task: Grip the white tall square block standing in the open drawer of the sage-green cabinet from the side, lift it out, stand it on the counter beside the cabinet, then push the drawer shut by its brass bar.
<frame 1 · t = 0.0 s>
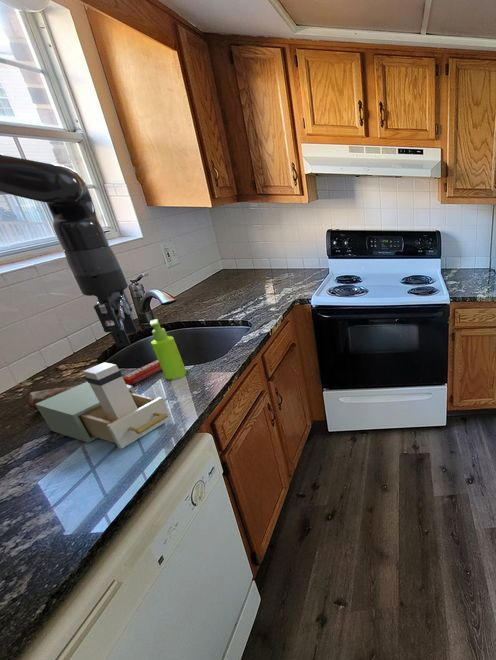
hand: (128, 339, 83), 27 cm above the counter, tool pointing down, fingers open, 8 cm apart
white tall square block: (128, 424, 95), point 2 cm above the counter, touching drawer
candy bar: (149, 374, 123), on the counter
drawer: (129, 418, 94), point 4 cm above the counter, slide at 11.0 cm, touching white tall square block
cabinet: (99, 420, 100), on the counter
soap dispenser: (176, 376, 121), on the counter
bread: (80, 400, 110), on the counter
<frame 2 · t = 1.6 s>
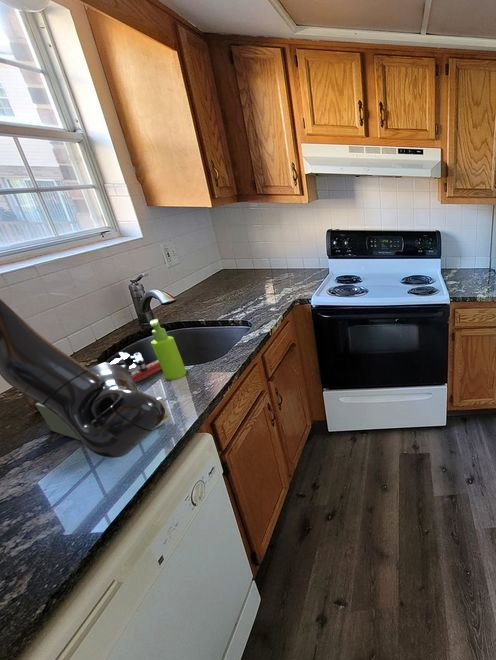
hand: (97, 363, 79), 24 cm above the counter, tool horizontal, fingers open, 8 cm apart
nothing on the counter moved.
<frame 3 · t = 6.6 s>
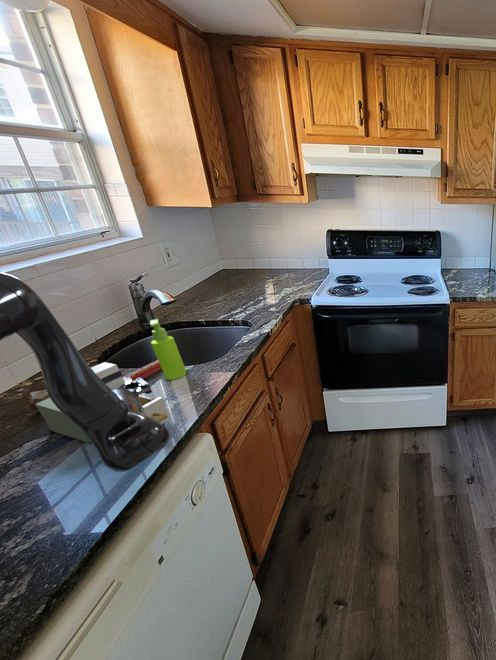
hand: (108, 385, 92), 13 cm above the counter, tool horizontal, fingers closed on white tall square block, 6 cm apart
white tall square block: (128, 424, 95), point 2 cm above the counter, touching drawer, gripper
everything else where it was.
when the fingers open (11 cm above the counter, at t = 16.8 s): white tall square block stays where it is, on the counter.
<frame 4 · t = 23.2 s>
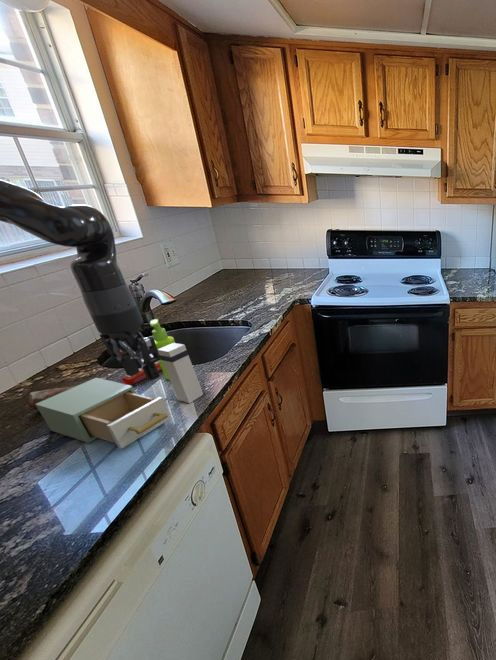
hand: (143, 376, 83), 20 cm above the counter, tool pointing down, fingers open, 6 cm apart
white tall square block: (191, 397, 109), on the counter
drawer: (129, 418, 94), point 4 cm above the counter, slide at 11.0 cm
everything else where it was.
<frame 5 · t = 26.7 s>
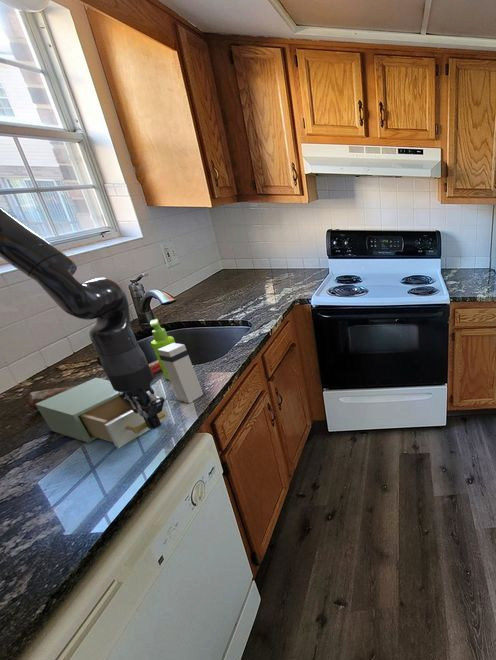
hand: (155, 426, 91), 4 cm above the counter, tool pointing down, fingers closed
drawer: (126, 417, 94), point 4 cm above the counter, slide at 10.0 cm, touching gripper
everything else where it was.
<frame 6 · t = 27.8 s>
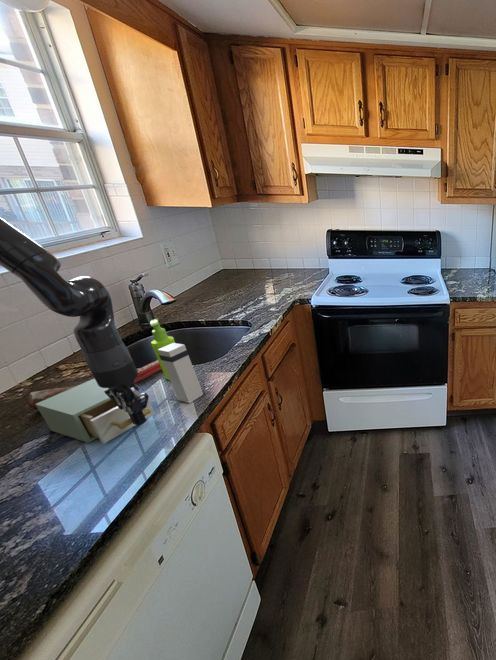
hand: (140, 422, 92), 4 cm above the counter, tool pointing down, fingers closed
drawer: (113, 413, 96), point 4 cm above the counter, slide at 4.6 cm, touching gripper
everything else where it was.
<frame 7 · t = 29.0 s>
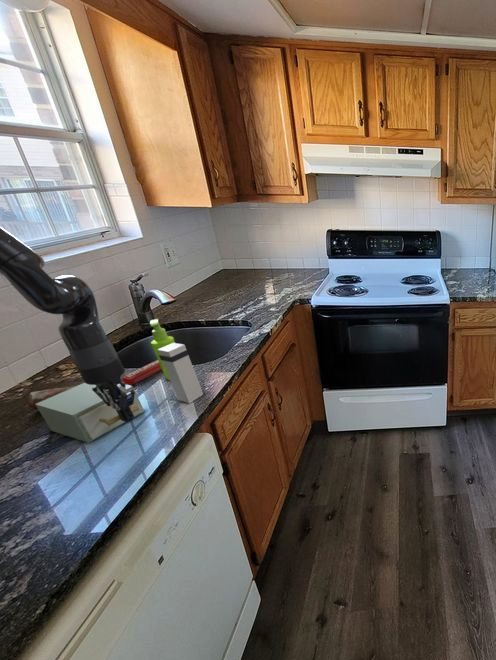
hand: (128, 419, 94), 4 cm above the counter, tool pointing down, fingers closed
drawer: (101, 410, 97), point 4 cm above the counter, slide at 0.0 cm, touching cabinet, gripper
everything else where it was.
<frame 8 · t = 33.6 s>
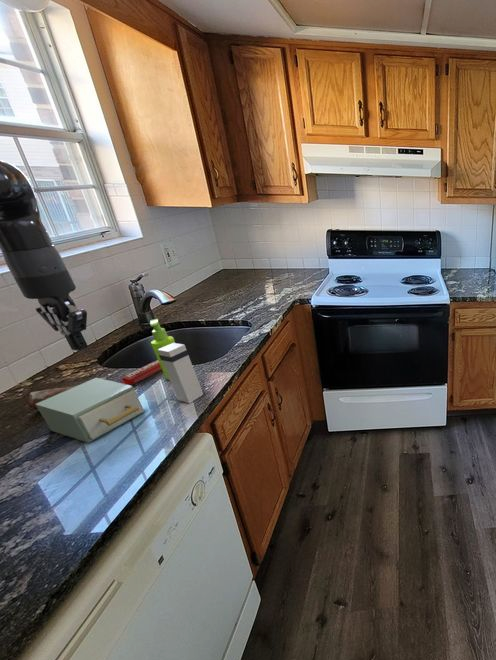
hand: (80, 348, 79), 27 cm above the counter, tool pointing down, fingers closed
drawer: (101, 410, 97), point 4 cm above the counter, slide at 0.0 cm, touching cabinet
everything else where it was.
at the end: white tall square block inside the target area (0.1 cm from its centre), on the counter; white tall square block tilted 0°; drawer slide at 0.0 cm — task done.
